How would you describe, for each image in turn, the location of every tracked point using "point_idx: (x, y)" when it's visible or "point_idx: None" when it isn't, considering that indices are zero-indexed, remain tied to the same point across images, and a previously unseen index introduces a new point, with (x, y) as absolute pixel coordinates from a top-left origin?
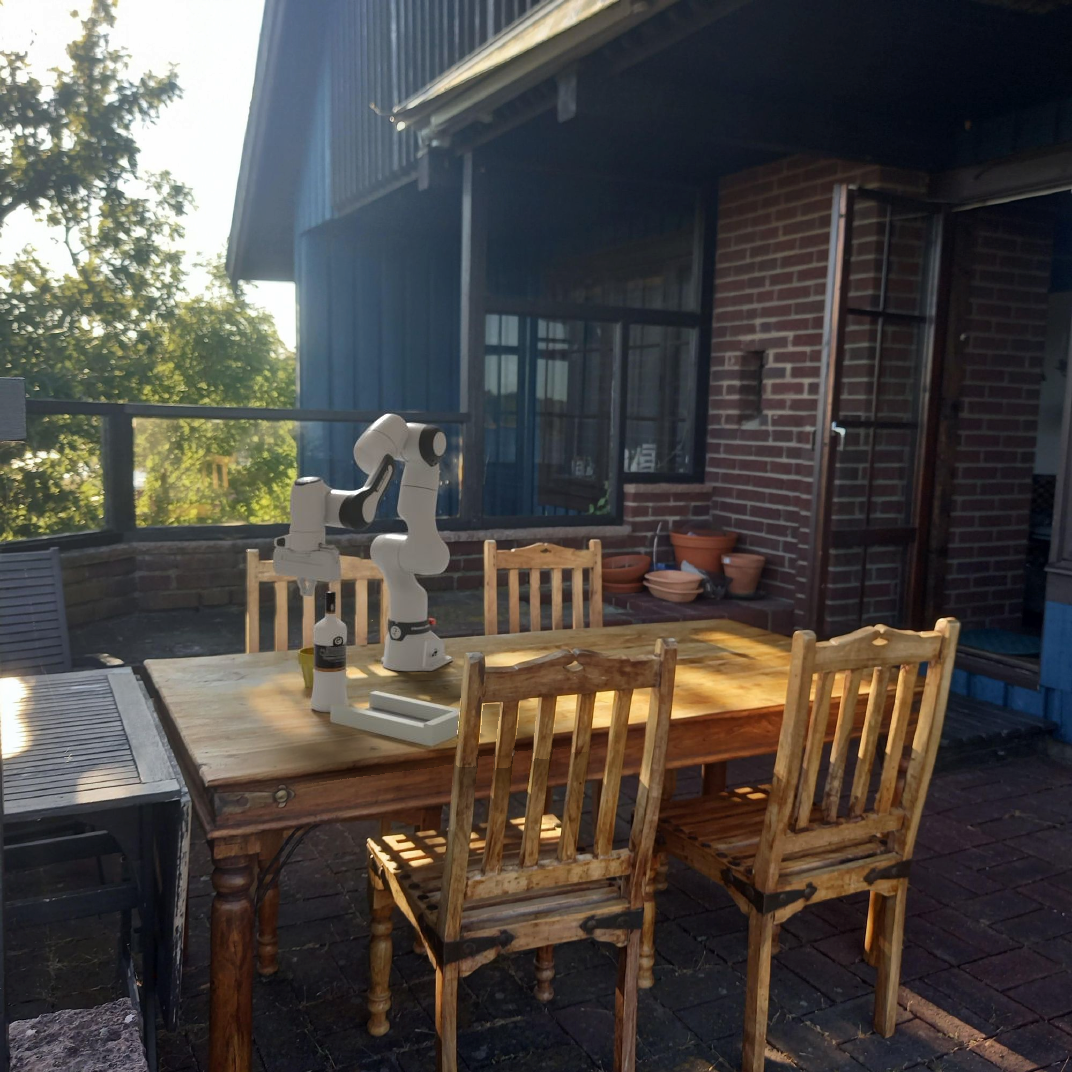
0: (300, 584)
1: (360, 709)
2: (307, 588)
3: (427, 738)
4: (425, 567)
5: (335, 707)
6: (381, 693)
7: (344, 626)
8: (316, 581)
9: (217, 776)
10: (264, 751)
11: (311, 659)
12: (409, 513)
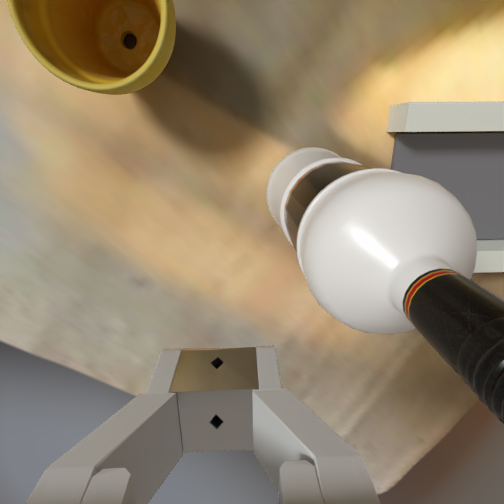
0: (144, 500)
1: None
2: (267, 464)
3: None
4: None
5: None
6: (436, 113)
7: (476, 239)
8: (366, 489)
9: (379, 491)
10: (369, 415)
11: (136, 85)
12: None
